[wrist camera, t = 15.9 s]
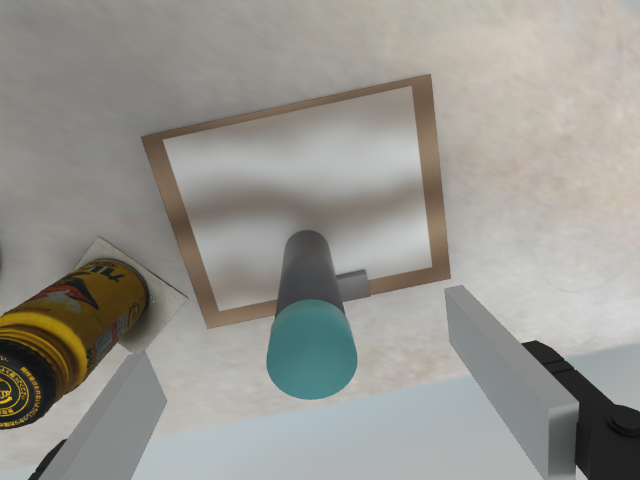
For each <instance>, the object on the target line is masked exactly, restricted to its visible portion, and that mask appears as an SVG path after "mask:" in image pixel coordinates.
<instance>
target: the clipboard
mask: <svg viewBox="0 0 640 480" xmlns="http://www.w3.org/2000/svg"><path fill="white" fill-rule="evenodd" d="M141 139H142V142H143V145H144V148H145V151H146V154H147V156H148V159H149V162H150V165H151V168H152V171H153V174H154V177H155V179H156V182H157V185H158V188H159V191H160V194H161V197H162V200H163V202H164V205H165V208H166V211H167V214H168V217H169V220H170V222H171V225H172V228H173V231H174V234H175V237H176V240H177V243H178V245H179V248H180V251H181V254H182V257H183V260H184V263H185V266H186V268H187V271H188V274H189V277H190V280H191V283H192V286H193V289H194V291H195V294H196V297H197V300H198V303H199V306H200V309H201V312H202V314H203V317H204V320H205V323H206V326H207V329H210V328H215V327H220V326H225V325H230V324H234V323H239V322H244V321H249V320H254V319H258V318H263V317H268V316H273V315H275V313H276V306H277V299H278V292H279V285H280V278H281V271H282V264H283V257H284V250H285V245H286V243H287V241H288V239H289V238H290V237H291V236H292V235H293V234H295V233H297V232H299V231H303V230H311V231H315V232H318V233H319V234H321V235H322V236H323V237H324V238H325V239H326V240H327V242H328V245H329V248H330V252H331V257H332V261H333V265H334V269H335V274H336V278H337V282H338V286H339V291H340V295H341V299H342V302H345V301H350V300H355V299H359V298H364V297H369V296H371V295H374V294H379V293H384V292H389V291H393V290H398V289H403V288H408V287H413V286H417V285H422V284H427V283H432V282H437V281H442V280H446V279H451V275H450V265H449V255H448V244H447V234H446V224H445V214H444V204H443V193H442V183H441V173H440V163H439V152H438V142H437V132H436V122H435V112H434V101H433V91H432V81H431V74H429V75H424V76H420V77H415V78H410V79H406V80H401V81H397V82H392V83H387V84H383V85H378V86H374V87H369V88H364V89H360V90H355V91H350V92H346V93H341V94H337V95H332V96H327V97H323V98H318V99H313V100H309V101H304V102H300V103H295V104H290V105H286V106H281V107H277V108H272V109H267V110H263V111H258V112H253V113H249V114H244V115H240V116H235V117H230V118H226V119H221V120H216V121H212V122H207V123H203V124H198V125H193V126H189V127H184V128H180V129H175V130H170V131H166V132H161V133H156V134H152V135H147V136H143V137H141Z"/></svg>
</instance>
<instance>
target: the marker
mask: <svg viewBox="0 0 640 480" xmlns="http://www.w3.org/2000/svg"><path fill="white" fill-rule="evenodd" d="M356 367H357V352H356V348H355V344H354V340H353V336H352V332H351V328H350V324H349V322H348V319H347V318H346V316H345V312H344V307H343V303H342V299H341V295H340V291H339V286H338V282H337V278H336V274H335V269H334V265H333V261H332V257H331V252H330V248H329V245H328V242H327V240H326V239H325V238H324V237H323V236H322V235H321V234H319V233H318V232H315V231H311V230H303V231H299V232H297V233H295V234H293V235H292V236H291V237H290V238H289V239H288V241H287V243H286V245H285V250H284V257H283V264H282V271H281V278H280V285H279V292H278V299H277V306H276V313H275V320H274V322H273V325H272V328H271V333H270V340H269V346H268V353H267V370H268V373H269V376H270V378H271V379H272V381H273V382H274V384H275V385H276V386H277V387H278V388H279V389H280V390H282V391H283V392H285V393H287V394H288V395H291V396H293V397H296V398H300V399H309V400H312V399H321V398H325V397H328V396H331V395H333V394H335V393H337V392H339V391H340V390H341V389H343V388H344V387H345V386H346V385H347V384H348V383H349V382H350V380H351V379H352V377H353V375H354V373H355V371H356Z"/></svg>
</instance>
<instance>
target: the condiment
mask: <svg viewBox="0 0 640 480" xmlns="http://www.w3.org/2000/svg"><path fill="white" fill-rule="evenodd" d="M151 296H152V297H153V298H152V299H151ZM187 299H188V298H187V297H185V296H184V295H182V294H180V293H179V292H177V291H176V290H175V289H174V288H172V287H170V286H169V285H167V284H166V283H165V282H163V281H162V280H160V279H159V278H157V277H156V276H155V275H153V274H152V273H150V272H149V271H148V270H146V269H145V268H144V267H142V266H141V265H140V264H138V263H137V262H135V261H134V260H132V259H131V258H129V257H128V256H127V255H125V254H124V253H122V252H121V251H119V250H118V249H116V248H115V247H113V246H112V245H111V244H109V243H108V242H106V241H105V240H103V239H101V238H99V237H98V236H97V238H96V239H95V241H94V242H93V243H92V245H91V246H90V247H89V249H88V250H87V252H86V253H85V255H84V256H83V257H82V259H81V260H80V261H79V263H78V264H77V266H76V267H75V268H74V270H73V271H72V272H71V273H69V274H67V275H66V276H65V277H63V278H62V279H60V280H58V281H57V282H55V283H54V284H52V285H50V286H49V287H47V288H46V289H44V290H42V291H40V292H39V293H38V294H36V295H35V296H33V297H32V298H30V299H29V300H27V301H25V302H24V303H22V304H20V305H19V306H17V307H16V308H14V309H11V310H10V311H8V312H6V313H4V314H3V316H1V317H0V430H4V429H12V428H18V427H22V426H25V425H28V424H31V423H34V422H35V421H37V420H38V419H39V418H41V417H43V416H44V414H45V413H46V412H48V410H49V409H50V408H51V407H52V405H53V404H54V403H56V402H57V401H58V400H60V399H61V398H62V397H63V395H65V394H67V393H69V392H71V391H73V390H74V389H76V388H77V387H78V386H79V385H80V384H81V383H82V382H84V381H85V380H86V378H87V377H88V375H89V374H90V373H91V372H92V371H93V370H94V368H95V367H96V366H97V365H98V364H99V363H100V361H101V360H102V359H103V358H104V357H105V356H106V354H107V353H108V352H109V351H110V350H111V349H112V348H113V346H115V345H116V343H117V342H118V343H119V344H121V345H122V346H124V347H125V348H126V349H127V350H129V351H130V352H132V353H134V354H136V353H141V352H143V351H144V350H145V349H146V347H147V346H148V345H149V344H150V343H151V341H152V340H153V339H154V338H155V337H156V336H157V334H158V333H159V332H160V331H161V330H162V328H163V327H164V326H165V325H166V324H167V322H168V321H169V320H170V319H171V318H172V316H173V315H174V314H175V313H176V312H177V310H178V309H179V308H180V307H181V306H182V305H183V303H184V302H185V301H186V300H187ZM152 300H154V304H153V302H152Z"/></svg>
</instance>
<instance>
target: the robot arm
mask: <svg viewBox="0 0 640 480" xmlns="http://www.w3.org/2000/svg"><path fill="white" fill-rule="evenodd" d="M445 299H446V309H447V320H448V330H449V341H450V343H451V345H452V346H453V348H454V349H455V351H456V352H457V354H458V355H459V357H460V358H461V360H462V361H463V362H464V364H465V365H466V367H467V368H468V370H469V371H470V373H471V374H472V376H473V377H474V379H475V380H476V381H477V383H478V384H479V386H480V387H481V389H482V390H483V392H484V393H485V395H486V396H487V398H488V399H489V400H490V402H491V403H492V405H493V406H494V408H495V409H496V411H497V412H498V414H499V415H500V417H501V418H502V419H503V421H504V422H505V424H506V425H507V427H508V428H509V430H510V431H511V433H512V434H513V435H514V437H515V438H516V440H517V441H518V443H519V444H520V446H521V447H522V449H523V450H524V452H525V453H526V455H527V456H528V457H529V459H530V460H531V461H532V463H533V465H534V466H535V468H536V469H537V471H538V472H539V473H540V475H541V476H542V478H543V479H544V480H575V474H576V465H577V466H578V467H579V469H580V470H581V471H582V472H583V473H584V475H585V476H586V477H587V478H588V480H640V412H639V411H637V410H635V409H632V408H629V407H626V406H621V405H615V404H614V403H613V402H612V401H611V400H609V399H608V398H607V397H606V396H605V395H604V394H603V393H602V392H600V391H599V390H598V389H597V388H596V387H595V386H594V385H593V384H591V383H590V382H589V381H588V380H587V379H586V378H585V377H584V376H583V375H581V374H580V373H579V372H578V371H577V370H574V367H573V366H571V365H570V364H569V363H568V362H567V361H565V360H564V358H563V357H561V356H560V355H559V354H558V353H557V352H556V351H555V350H554V349H552V348H551V347H549V346H547V345H545V344H543V343H540V342H538V341H536V340H535V341H531V342H526V343H520V342H519V341H518V340H517V339H516V338H515V337H514V336H513V335H512V334H511V333H510V332H509V331H508V330H507V329H506V328H505V327H504V326H503V325H502V324H501V323H500V322H499V321H498V320H497V319H496V318H495V317H494V316H493V315H492V314H491V313H490V312H489V311H488V310H487V309H486V308H485V307H484V306H483V305H482V304H481V303H480V302H479V301H478V300H477V299H476V298H475V297H474V296H473V295H472V294H471V293H470V292H469V291H468V290H467V289H466V288H465V287H464V286H463V285H460V286H455V287H450V288H445ZM166 403H167V399H166V397H165V395H164V393H163V390H162V388H161V386H160V383H159V381H158V379H157V377H156V374H155V372H154V370H153V367H152V365H151V363H150V361H149V358H148V356H147V354H146V352H141V353H136V354H131V355H128V356H127V358H126V359H125V360H124V362H123V363H122V364H121V366H120V367H119V369H118V370H117V371H116V373H115V374H114V376H113V377H112V378H111V380H110V381H109V382H108V384H107V385H106V387H105V388H104V389H103V391H102V392H101V393H100V395H99V396H98V398H97V399H96V400H95V402H94V403H93V405H92V406H91V407H90V409H89V410H88V411H87V413H86V414H85V416H84V417H83V418H82V420H81V421H80V423H79V424H78V425H77V427H76V428H75V429H74V431H73V432H72V434H71V435H70V436H69V438H68V439H65V440H62V441H61V442H60V443H59V444H58V445H57V446H56V447H55V448H53V449H52V450H51V451H50V452H49V453H48V454H47V455H46V456H45V458H44V459H43V460H42V462H41V463H40V464H39V466H38V467H37V468H36V472H35V473H33V474H32V475H31V476H30V478H29V479H28V480H131V478H132V476H133V474H134V472H135V469H136V467H137V465H138V463H139V461H140V459H141V457H142V454H143V452H144V450H145V448H146V446H147V444H148V442H149V439H150V437H151V435H152V433H153V431H154V429H155V426H156V424H157V422H158V420H159V418H160V416H161V414H162V411H163V409H164V407H165V405H166Z"/></svg>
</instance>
